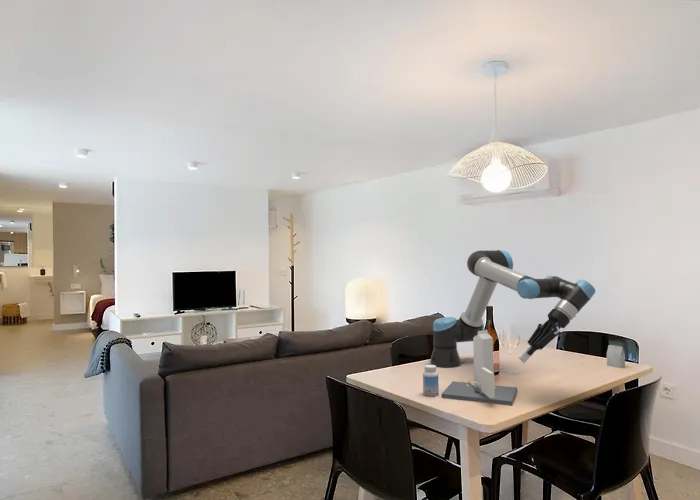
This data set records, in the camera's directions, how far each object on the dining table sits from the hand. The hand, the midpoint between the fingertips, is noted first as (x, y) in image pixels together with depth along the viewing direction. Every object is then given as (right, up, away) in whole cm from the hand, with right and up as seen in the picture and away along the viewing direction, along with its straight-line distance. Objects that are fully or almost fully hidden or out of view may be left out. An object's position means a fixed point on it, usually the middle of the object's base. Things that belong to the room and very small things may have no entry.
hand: (521, 360), depth 175 cm
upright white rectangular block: (-14, -14, +7) cm, 21 cm away
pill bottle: (-32, -16, +11) cm, 38 cm away
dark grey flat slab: (-13, -16, +10) cm, 23 cm away
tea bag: (+66, -16, +53) cm, 86 cm away
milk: (-5, -16, +30) cm, 35 cm away
